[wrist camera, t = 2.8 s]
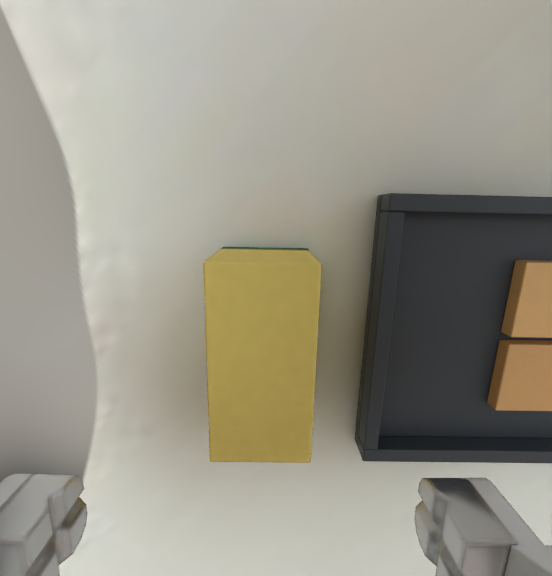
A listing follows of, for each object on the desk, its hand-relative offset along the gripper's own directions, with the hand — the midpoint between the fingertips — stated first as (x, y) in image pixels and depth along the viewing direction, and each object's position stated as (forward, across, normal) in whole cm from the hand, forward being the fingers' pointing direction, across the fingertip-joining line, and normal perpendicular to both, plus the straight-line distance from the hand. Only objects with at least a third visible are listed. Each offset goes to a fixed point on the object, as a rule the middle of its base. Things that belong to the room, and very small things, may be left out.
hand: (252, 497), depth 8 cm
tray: (+10, -16, 0) cm, 19 cm away
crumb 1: (+10, -15, -3) cm, 18 cm away
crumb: (+10, -15, +2) cm, 18 cm away
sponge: (+11, 0, 0) cm, 11 cm away
